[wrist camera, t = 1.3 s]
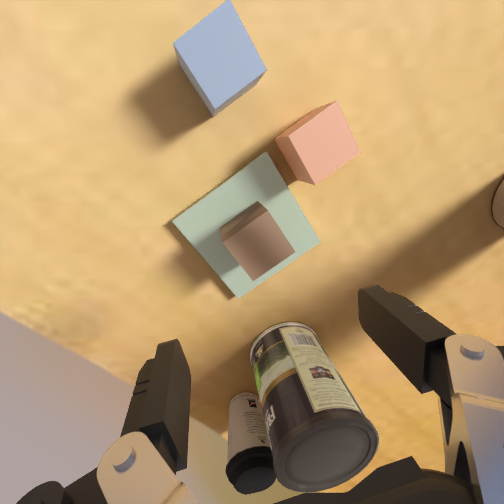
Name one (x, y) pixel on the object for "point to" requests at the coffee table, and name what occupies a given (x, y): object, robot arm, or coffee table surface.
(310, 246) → the baseplate
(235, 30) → the slate block
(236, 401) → the coffee cup
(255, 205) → the walnut block
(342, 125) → the terracotta block
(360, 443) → the coffee can
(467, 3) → the coffee table surface
